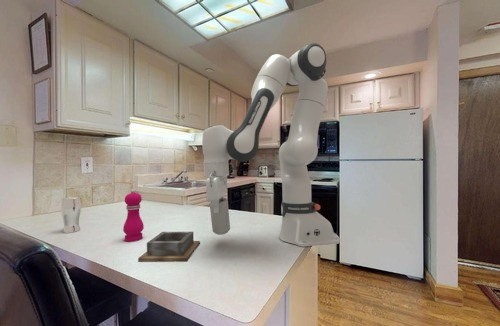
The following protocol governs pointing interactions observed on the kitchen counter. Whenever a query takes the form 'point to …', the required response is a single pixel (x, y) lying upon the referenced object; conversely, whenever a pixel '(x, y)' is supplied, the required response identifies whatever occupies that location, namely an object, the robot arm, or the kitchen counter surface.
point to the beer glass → (71, 214)
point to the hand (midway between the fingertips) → (218, 210)
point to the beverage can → (220, 218)
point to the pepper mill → (133, 217)
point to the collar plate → (170, 247)
